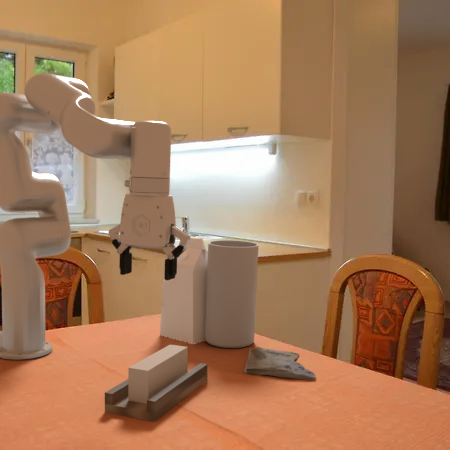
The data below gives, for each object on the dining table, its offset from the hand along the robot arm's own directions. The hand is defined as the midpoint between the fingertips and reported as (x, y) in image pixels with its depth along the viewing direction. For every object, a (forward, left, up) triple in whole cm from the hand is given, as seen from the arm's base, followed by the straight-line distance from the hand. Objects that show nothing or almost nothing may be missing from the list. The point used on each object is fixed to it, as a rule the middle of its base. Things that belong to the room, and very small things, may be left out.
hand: (147, 276), depth 112 cm
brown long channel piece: (+4, -2, -22) cm, 23 cm away
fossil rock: (+19, +25, -23) cm, 39 cm away
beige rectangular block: (+4, -1, -21) cm, 21 cm away
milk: (-9, +39, -23) cm, 46 cm away
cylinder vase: (+2, +37, -22) cm, 44 cm away
